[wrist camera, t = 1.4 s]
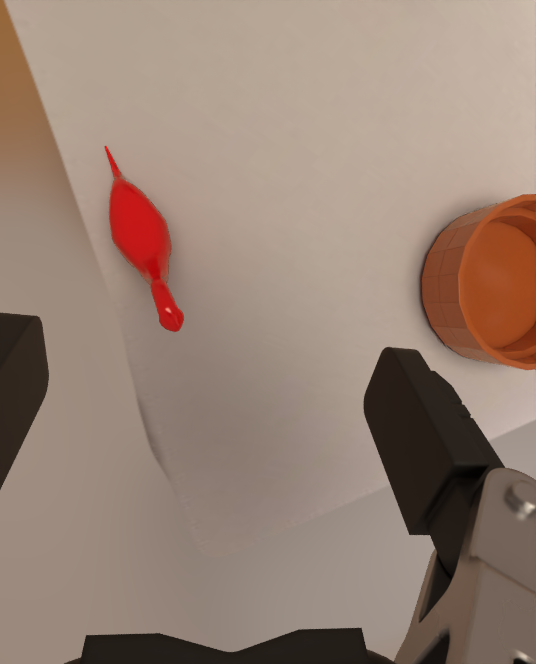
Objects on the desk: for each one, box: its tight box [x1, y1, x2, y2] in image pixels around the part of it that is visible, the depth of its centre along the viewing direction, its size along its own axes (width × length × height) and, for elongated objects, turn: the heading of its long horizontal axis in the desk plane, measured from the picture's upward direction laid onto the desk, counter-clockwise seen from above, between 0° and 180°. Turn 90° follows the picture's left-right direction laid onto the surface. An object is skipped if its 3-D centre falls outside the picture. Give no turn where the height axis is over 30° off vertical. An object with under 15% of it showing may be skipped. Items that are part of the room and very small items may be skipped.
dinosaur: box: [105, 146, 184, 332], centre depth 29 cm, size 4×15×12 cm, turn 22°
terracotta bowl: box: [422, 194, 536, 370], centre depth 38 cm, size 14×14×6 cm
